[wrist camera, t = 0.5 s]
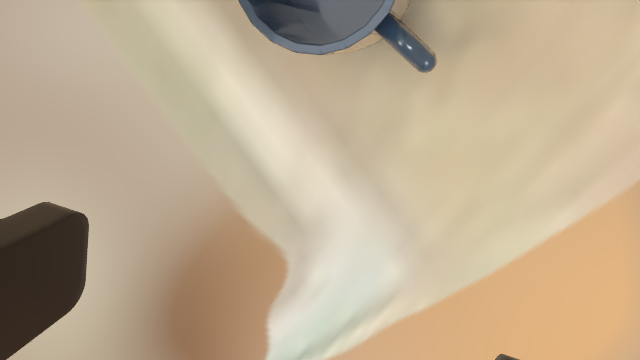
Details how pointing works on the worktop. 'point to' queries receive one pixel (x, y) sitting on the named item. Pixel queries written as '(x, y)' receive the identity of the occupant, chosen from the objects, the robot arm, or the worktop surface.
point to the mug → (338, 27)
